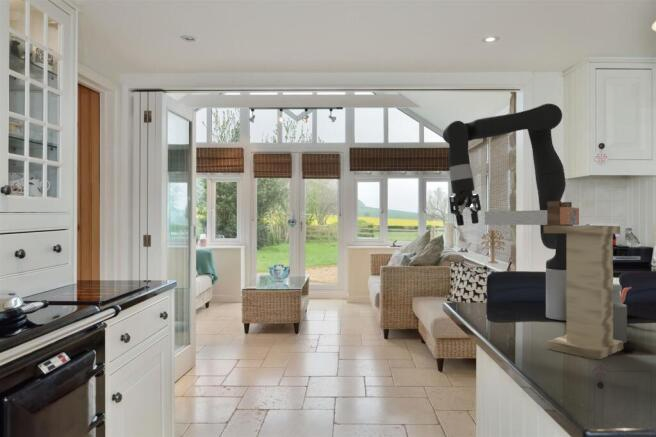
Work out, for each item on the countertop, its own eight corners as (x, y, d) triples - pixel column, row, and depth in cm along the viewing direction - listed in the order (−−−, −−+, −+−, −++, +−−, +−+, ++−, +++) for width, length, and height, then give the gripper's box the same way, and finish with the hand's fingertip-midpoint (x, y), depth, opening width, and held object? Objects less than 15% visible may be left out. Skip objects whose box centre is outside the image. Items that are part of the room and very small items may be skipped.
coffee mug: (632, 344, 118) (632, 307, 118) (591, 341, 121) (591, 305, 121) (615, 333, 131) (615, 300, 131) (578, 330, 134) (578, 298, 134)
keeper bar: (494, 224, 138) (494, 210, 138) (579, 224, 118) (579, 208, 118) (481, 224, 134) (481, 209, 134) (567, 224, 114) (567, 207, 114)
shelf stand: (566, 338, 124) (566, 203, 125) (623, 349, 113) (622, 201, 114) (539, 346, 114) (540, 200, 115) (598, 359, 103) (598, 198, 104)
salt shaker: (628, 324, 143) (627, 285, 143) (608, 323, 144) (608, 284, 145) (619, 321, 149) (619, 283, 149) (601, 320, 150) (601, 282, 150)
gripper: (458, 177, 145) (465, 225, 144) (482, 176, 154) (489, 221, 153) (440, 181, 151) (446, 227, 150) (464, 180, 160) (471, 223, 159)
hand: (468, 224), depth 152 cm, fingers open, 8 cm apart
